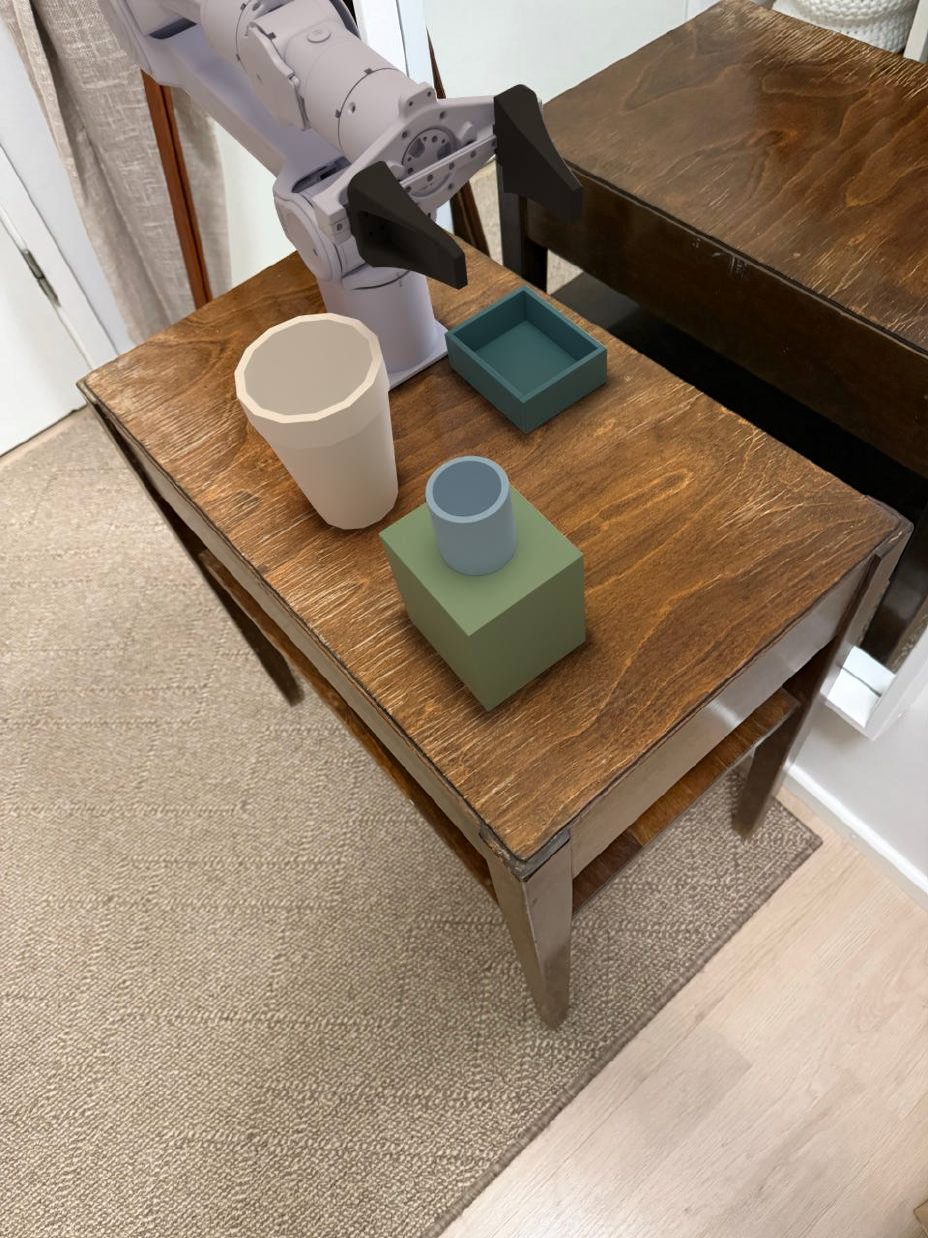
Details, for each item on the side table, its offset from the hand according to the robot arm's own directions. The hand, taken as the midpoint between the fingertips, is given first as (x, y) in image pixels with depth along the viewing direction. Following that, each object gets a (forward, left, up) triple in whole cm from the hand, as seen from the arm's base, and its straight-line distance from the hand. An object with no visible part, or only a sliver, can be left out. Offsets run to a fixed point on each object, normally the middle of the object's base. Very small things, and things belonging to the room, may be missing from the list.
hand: (520, 238), depth 46 cm
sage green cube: (+7, -10, -21) cm, 24 cm away
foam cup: (-9, -11, -21) cm, 25 cm away
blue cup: (+7, -10, -11) cm, 16 cm away
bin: (-10, +6, -21) cm, 24 cm away
